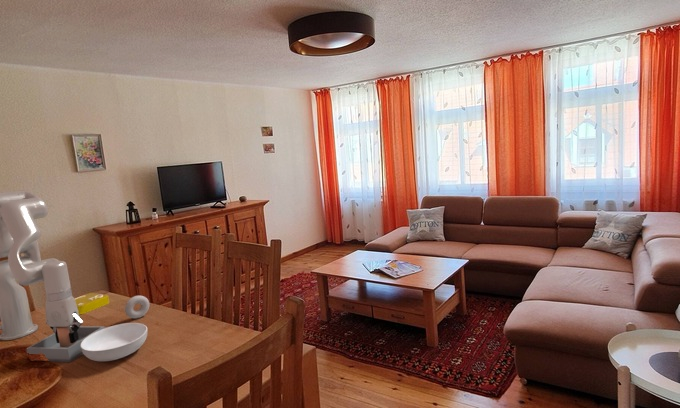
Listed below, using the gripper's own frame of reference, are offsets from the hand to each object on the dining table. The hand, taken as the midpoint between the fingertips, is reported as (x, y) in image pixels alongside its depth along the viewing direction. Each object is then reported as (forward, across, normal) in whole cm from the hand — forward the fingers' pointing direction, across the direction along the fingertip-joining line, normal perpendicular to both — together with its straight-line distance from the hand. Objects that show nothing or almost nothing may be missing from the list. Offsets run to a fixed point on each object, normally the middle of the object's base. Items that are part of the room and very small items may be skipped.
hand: (67, 340), depth 145 cm
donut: (+4, +9, +27) cm, 29 cm away
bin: (+3, 0, 0) cm, 3 cm away
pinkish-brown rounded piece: (+1, 0, 0) cm, 1 cm away
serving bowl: (+4, +22, -2) cm, 22 cm away
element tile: (+4, -28, +39) cm, 48 cm away
